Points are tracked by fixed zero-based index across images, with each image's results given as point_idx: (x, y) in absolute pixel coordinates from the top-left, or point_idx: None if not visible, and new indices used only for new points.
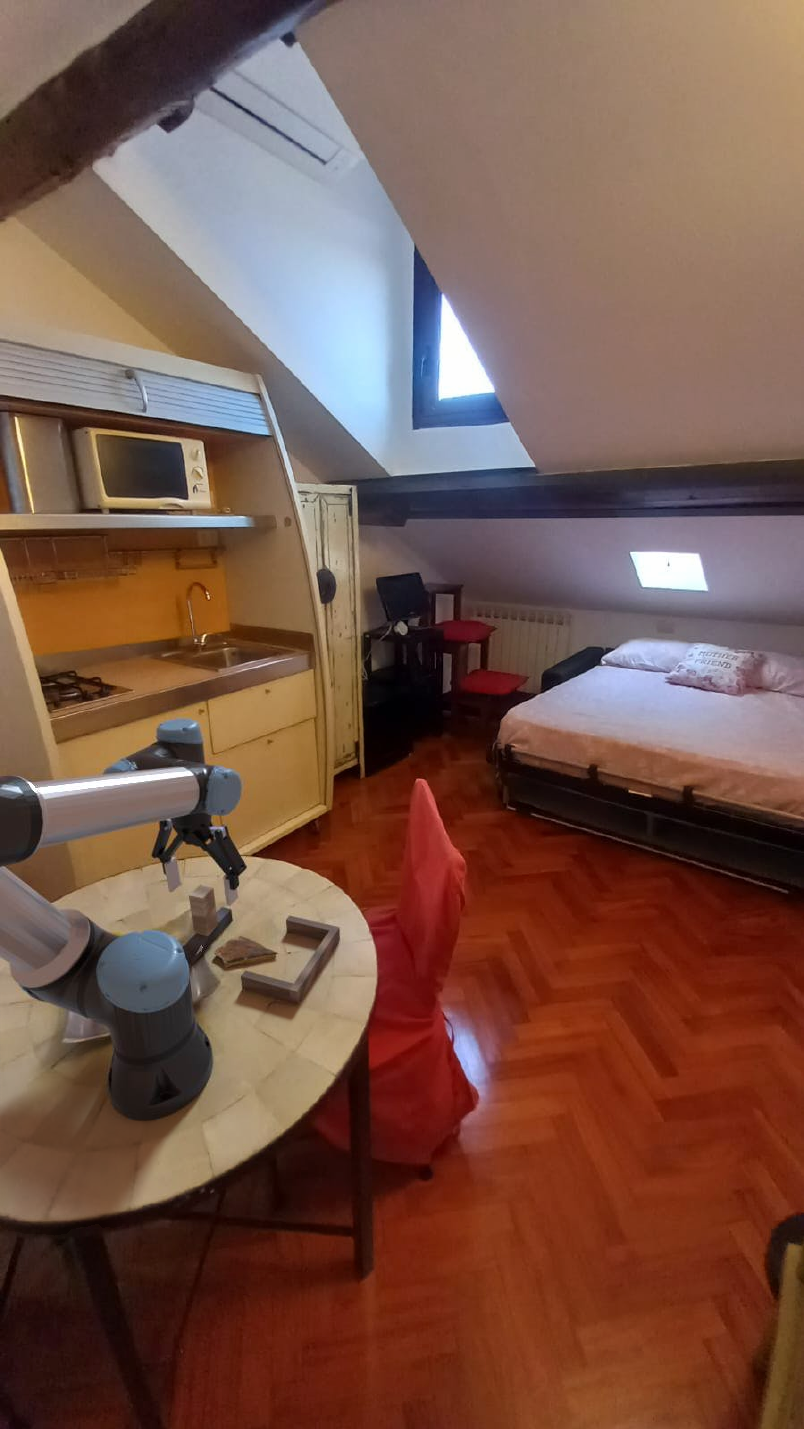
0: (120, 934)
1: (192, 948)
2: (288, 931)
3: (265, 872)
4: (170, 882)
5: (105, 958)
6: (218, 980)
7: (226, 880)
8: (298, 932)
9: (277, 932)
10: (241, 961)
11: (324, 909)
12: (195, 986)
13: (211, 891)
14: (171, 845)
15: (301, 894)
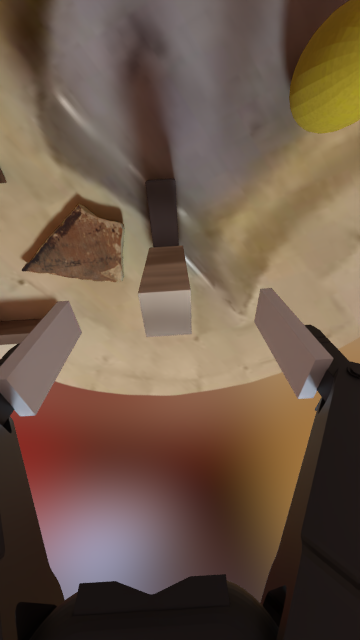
0: (351, 88)
1: (150, 200)
2: None
3: (187, 389)
4: (274, 307)
5: None
6: (62, 164)
7: (2, 368)
8: None
9: (78, 311)
10: (59, 227)
11: None
12: (89, 120)
13: (145, 326)
14: (354, 510)
15: (113, 375)
